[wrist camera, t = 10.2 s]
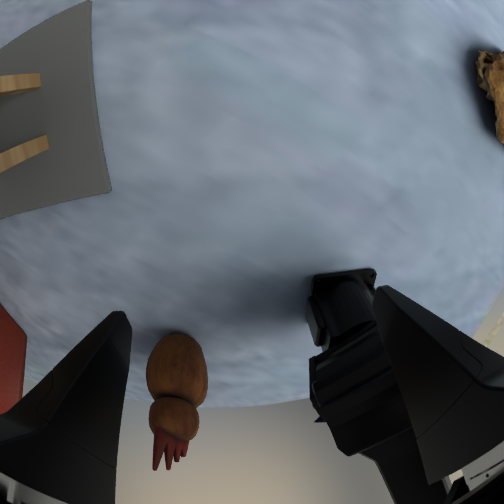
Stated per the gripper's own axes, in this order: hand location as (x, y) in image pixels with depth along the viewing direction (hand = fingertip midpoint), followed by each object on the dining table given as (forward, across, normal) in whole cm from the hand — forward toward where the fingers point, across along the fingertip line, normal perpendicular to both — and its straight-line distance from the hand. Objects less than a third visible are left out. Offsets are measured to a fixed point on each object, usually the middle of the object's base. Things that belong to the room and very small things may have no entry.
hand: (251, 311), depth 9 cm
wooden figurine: (+13, +8, +17) cm, 23 cm away
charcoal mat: (+13, +18, -9) cm, 24 cm away
